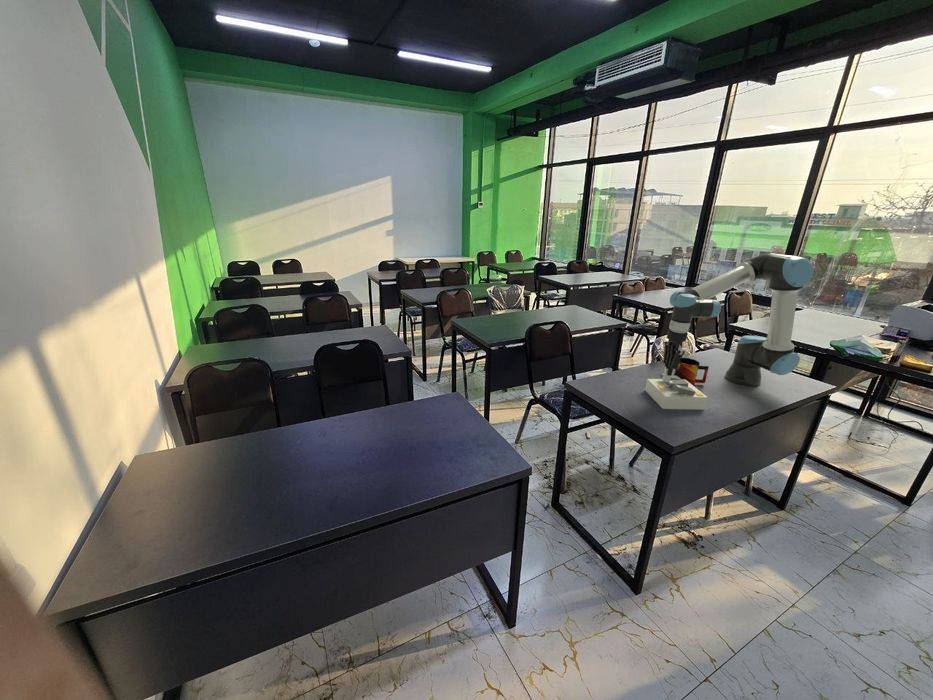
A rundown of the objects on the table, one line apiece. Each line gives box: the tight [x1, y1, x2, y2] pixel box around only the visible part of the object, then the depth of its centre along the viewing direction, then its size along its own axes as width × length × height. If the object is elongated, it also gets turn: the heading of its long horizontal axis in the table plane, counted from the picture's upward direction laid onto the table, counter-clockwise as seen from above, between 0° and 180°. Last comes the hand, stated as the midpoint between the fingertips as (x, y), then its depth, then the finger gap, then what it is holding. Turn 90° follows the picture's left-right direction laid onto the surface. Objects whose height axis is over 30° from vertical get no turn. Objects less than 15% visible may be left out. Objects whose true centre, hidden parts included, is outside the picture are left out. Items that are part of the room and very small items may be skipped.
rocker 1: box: [659, 372, 681, 380], centre depth 182 cm, size 8×4×2 cm, turn 90°
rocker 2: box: [666, 380, 689, 388], centre depth 176 cm, size 8×4×2 cm, turn 90°
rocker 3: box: [672, 384, 696, 395], centre depth 171 cm, size 8×4×2 cm, turn 91°
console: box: [645, 378, 708, 411], centre depth 178 cm, size 18×18×7 cm
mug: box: [673, 357, 709, 387], centre depth 194 cm, size 10×14×12 cm
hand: (665, 380), depth 176 cm, fingers closed
